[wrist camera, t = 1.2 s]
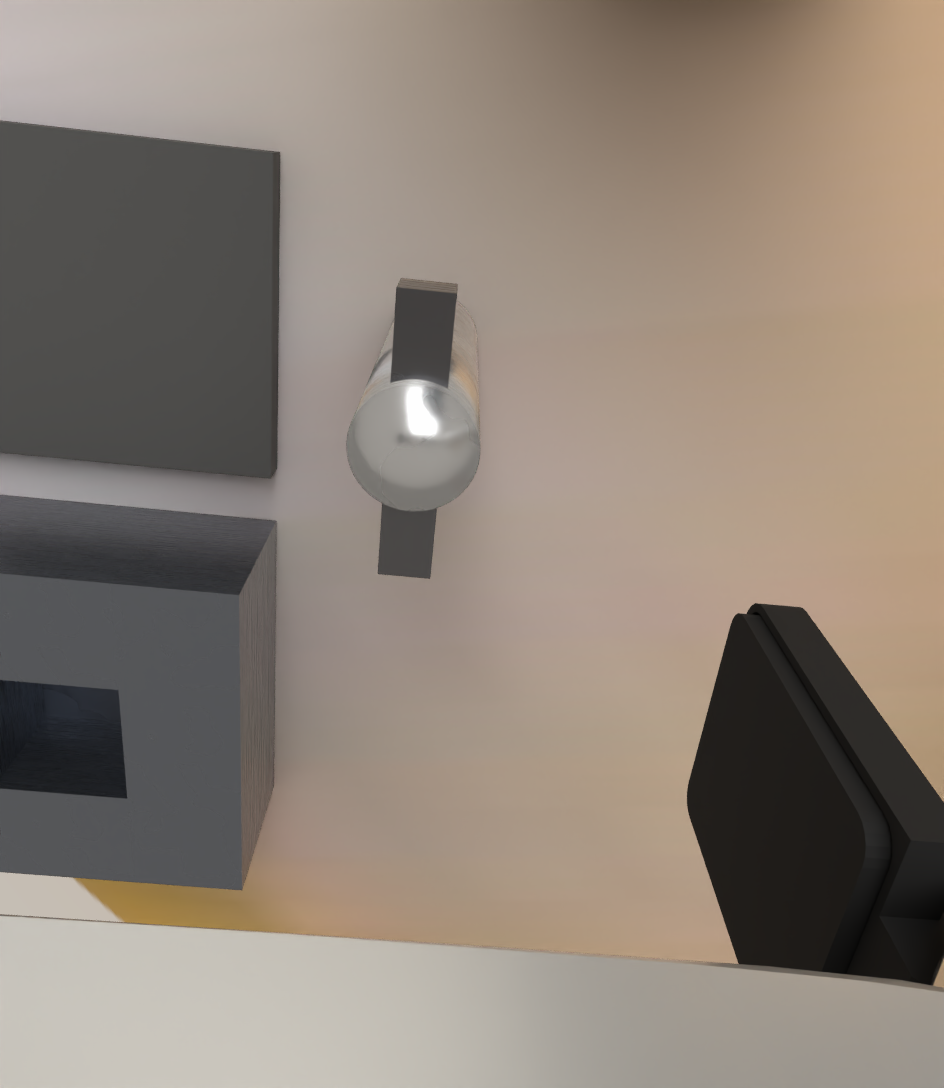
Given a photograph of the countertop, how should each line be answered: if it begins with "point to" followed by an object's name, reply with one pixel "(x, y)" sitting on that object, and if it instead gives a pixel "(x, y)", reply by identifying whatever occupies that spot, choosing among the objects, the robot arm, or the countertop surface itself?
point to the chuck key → (418, 422)
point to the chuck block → (134, 692)
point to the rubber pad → (138, 300)
